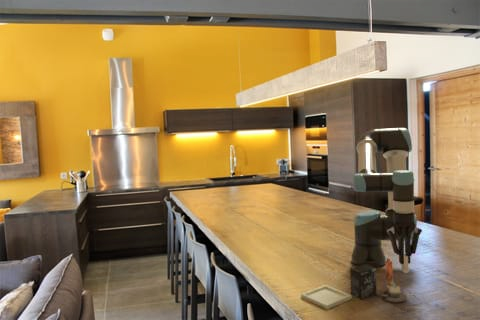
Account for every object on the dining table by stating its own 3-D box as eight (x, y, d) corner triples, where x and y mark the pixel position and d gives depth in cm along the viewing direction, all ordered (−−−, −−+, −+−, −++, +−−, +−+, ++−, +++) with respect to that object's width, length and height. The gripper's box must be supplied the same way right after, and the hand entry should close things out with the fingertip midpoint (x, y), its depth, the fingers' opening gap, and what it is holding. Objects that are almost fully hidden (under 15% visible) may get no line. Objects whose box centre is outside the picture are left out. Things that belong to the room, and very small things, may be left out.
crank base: (377, 298, 147) (377, 295, 147) (391, 292, 152) (390, 289, 151) (396, 305, 140) (396, 302, 140) (410, 299, 145) (410, 295, 145)
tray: (301, 297, 151) (301, 293, 151) (325, 288, 158) (325, 284, 158) (326, 309, 140) (326, 305, 140) (351, 299, 148) (351, 295, 147)
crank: (401, 297, 143) (400, 270, 143) (388, 297, 144) (387, 270, 143) (394, 283, 156) (393, 258, 155) (382, 282, 157) (382, 258, 156)
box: (360, 300, 146) (359, 271, 145) (350, 294, 152) (349, 267, 151) (377, 295, 149) (376, 267, 149) (366, 290, 155) (366, 263, 154)
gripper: (416, 208, 156) (417, 267, 158) (382, 210, 156) (384, 269, 158) (425, 212, 149) (426, 274, 151) (390, 214, 149) (391, 276, 151)
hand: (404, 271), depth 154 cm, fingers closed
